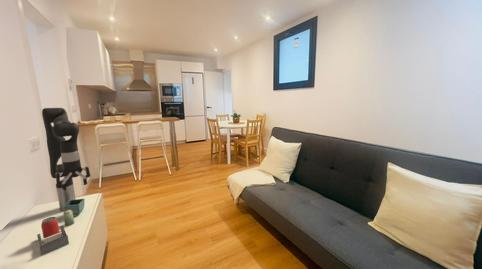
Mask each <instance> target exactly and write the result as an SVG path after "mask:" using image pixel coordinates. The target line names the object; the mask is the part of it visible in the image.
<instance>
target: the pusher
mask: <svg viewBox="0 0 482 269" xmlns="http://www.w3.org/2000/svg"><path fill="white" fill-rule="evenodd" d="M61 237H63V235H62V232H61V231H60V233H57V234H55V235H52V236H49V237H47V238H44V237H43V238H41V241H42V245H43V244H45V243H48V242H50V241H53V240H56V239H58V238H61Z"/></svg>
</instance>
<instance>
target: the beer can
mask: <svg viewBox="0 0 482 269" xmlns="http://www.w3.org/2000/svg"><path fill="white" fill-rule="evenodd" d="M41 230H42V231H41V232H42V237H43V239H44V238H47V237H49V236H52V235H55V234H57V233H60V232H61V230H60V227H59V221H58V219H57V218H56V216H49V217H47V218H45V219H43V220H42V221H41Z"/></svg>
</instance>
